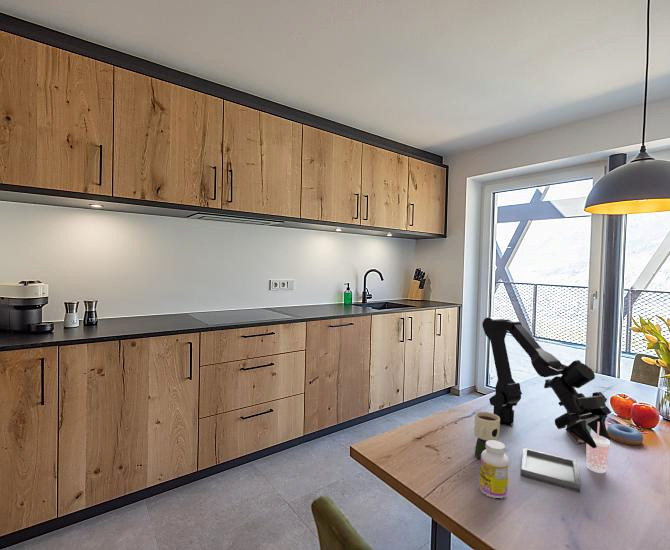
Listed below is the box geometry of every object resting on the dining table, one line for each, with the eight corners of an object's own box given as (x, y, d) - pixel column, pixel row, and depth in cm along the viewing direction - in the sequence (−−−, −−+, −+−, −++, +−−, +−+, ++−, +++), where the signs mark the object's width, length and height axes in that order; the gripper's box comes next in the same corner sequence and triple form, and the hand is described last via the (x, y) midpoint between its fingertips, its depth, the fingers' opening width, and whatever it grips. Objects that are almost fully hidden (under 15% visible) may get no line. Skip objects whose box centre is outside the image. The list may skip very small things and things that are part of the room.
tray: (521, 475, 105) (521, 469, 105) (523, 453, 117) (523, 447, 117) (580, 492, 98) (580, 484, 98) (576, 466, 111) (576, 460, 110)
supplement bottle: (474, 484, 101) (477, 438, 100) (498, 483, 101) (500, 437, 101) (487, 500, 94) (489, 451, 93) (512, 499, 95) (514, 450, 94)
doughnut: (646, 439, 128) (645, 426, 128) (640, 450, 122) (639, 436, 122) (611, 431, 136) (610, 419, 136) (603, 441, 129) (602, 428, 129)
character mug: (492, 469, 108) (494, 425, 107) (467, 460, 112) (469, 418, 112) (502, 454, 116) (504, 413, 116) (479, 446, 121) (481, 407, 120)
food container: (600, 448, 122) (602, 418, 121) (579, 446, 123) (581, 416, 122) (583, 431, 134) (585, 404, 133) (564, 429, 135) (566, 402, 134)
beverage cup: (614, 474, 107) (617, 426, 106) (594, 474, 107) (597, 427, 106) (597, 462, 113) (600, 417, 112) (578, 463, 113) (581, 417, 112)
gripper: (566, 386, 109) (604, 441, 99) (606, 379, 116) (645, 429, 106) (540, 403, 116) (573, 455, 107) (579, 395, 124) (613, 443, 114)
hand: (602, 445), depth 108 cm, fingers closed on beverage cup, 6 cm apart
